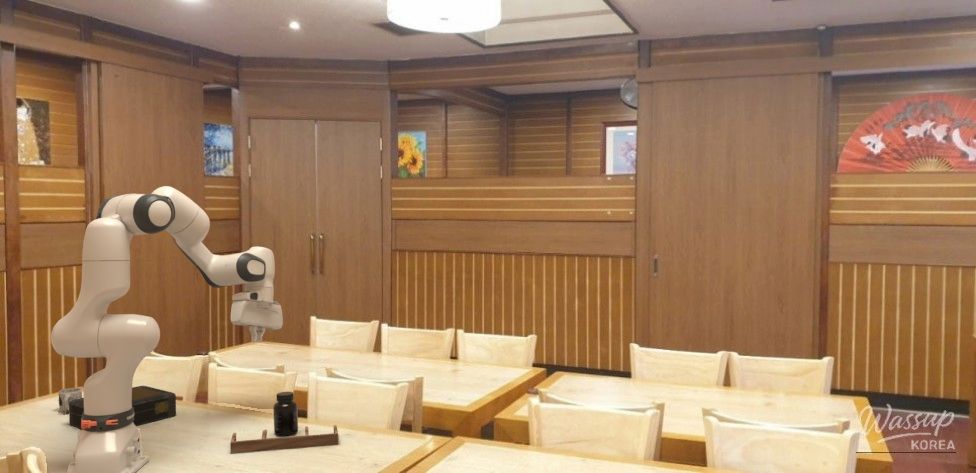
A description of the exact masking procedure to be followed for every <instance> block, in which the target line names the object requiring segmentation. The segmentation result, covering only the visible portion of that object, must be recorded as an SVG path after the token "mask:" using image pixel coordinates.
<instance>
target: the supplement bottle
mask: <svg viewBox="0 0 976 473" xmlns="http://www.w3.org/2000/svg"><path fill="white" fill-rule="evenodd" d="M294 399H295V397H294V392H293V391H282V392H281V391H280V392H277V393H276V401H277V402H275V404H273V433H274V435H275V436H276V437H290V436H296V435H297V433H298V432H299V418H298V412H299V411H298V403H297V402H296V401H295V400H294Z"/></svg>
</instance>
